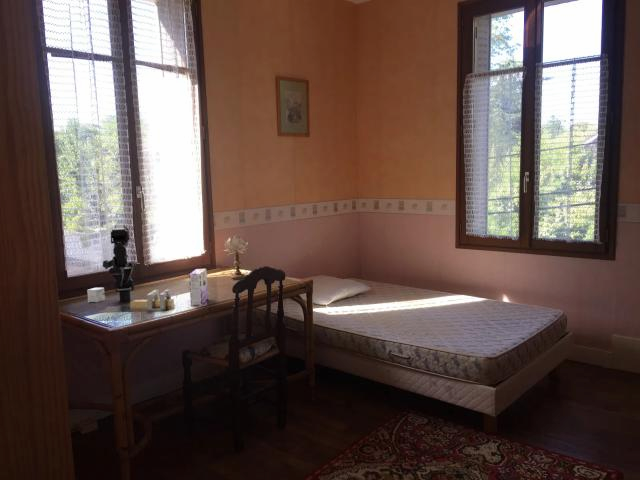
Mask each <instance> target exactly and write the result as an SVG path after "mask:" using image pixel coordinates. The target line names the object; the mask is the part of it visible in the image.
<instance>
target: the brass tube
mask: <svg viewBox="0 0 640 480" xmlns="http://www.w3.org/2000/svg"><path fill="white" fill-rule="evenodd" d="M129 303H130V305H129V306H130V307H131V310H148V305H147V299H131V301H129ZM165 304H166V309H170V310H173V308H175V306H174V305H175V299H174V298H171V299H166V298H165ZM153 308H160V298H159V299H154V298H153Z"/></svg>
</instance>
